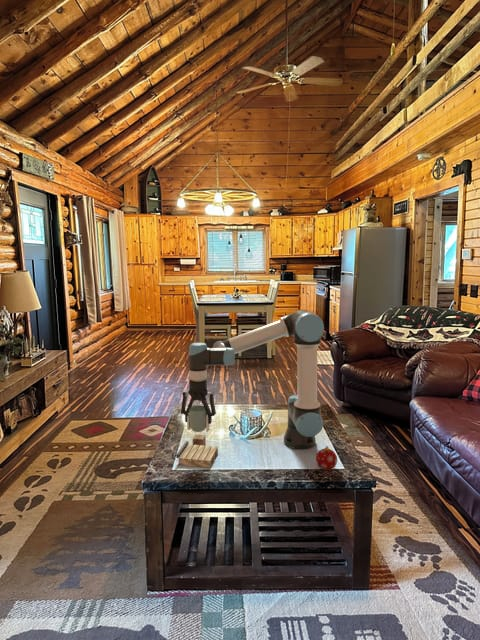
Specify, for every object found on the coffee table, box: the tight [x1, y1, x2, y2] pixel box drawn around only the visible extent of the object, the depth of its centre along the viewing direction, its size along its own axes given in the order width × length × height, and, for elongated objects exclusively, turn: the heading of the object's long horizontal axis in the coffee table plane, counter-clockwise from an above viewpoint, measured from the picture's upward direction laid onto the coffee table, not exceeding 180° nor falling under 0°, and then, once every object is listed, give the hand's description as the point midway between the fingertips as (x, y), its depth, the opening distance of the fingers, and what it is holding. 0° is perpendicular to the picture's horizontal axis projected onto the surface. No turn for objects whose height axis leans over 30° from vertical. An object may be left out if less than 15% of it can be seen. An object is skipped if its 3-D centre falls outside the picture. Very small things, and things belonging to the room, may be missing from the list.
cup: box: [189, 404, 207, 433], centre depth 178 cm, size 8×8×10 cm
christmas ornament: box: [315, 445, 338, 471], centre depth 171 cm, size 9×9×10 cm
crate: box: [192, 433, 207, 446], centre depth 192 cm, size 5×5×5 cm
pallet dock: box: [175, 440, 219, 468], centre depth 180 cm, size 15×14×4 cm
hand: (198, 429), depth 179 cm, fingers closed on cup, 8 cm apart
